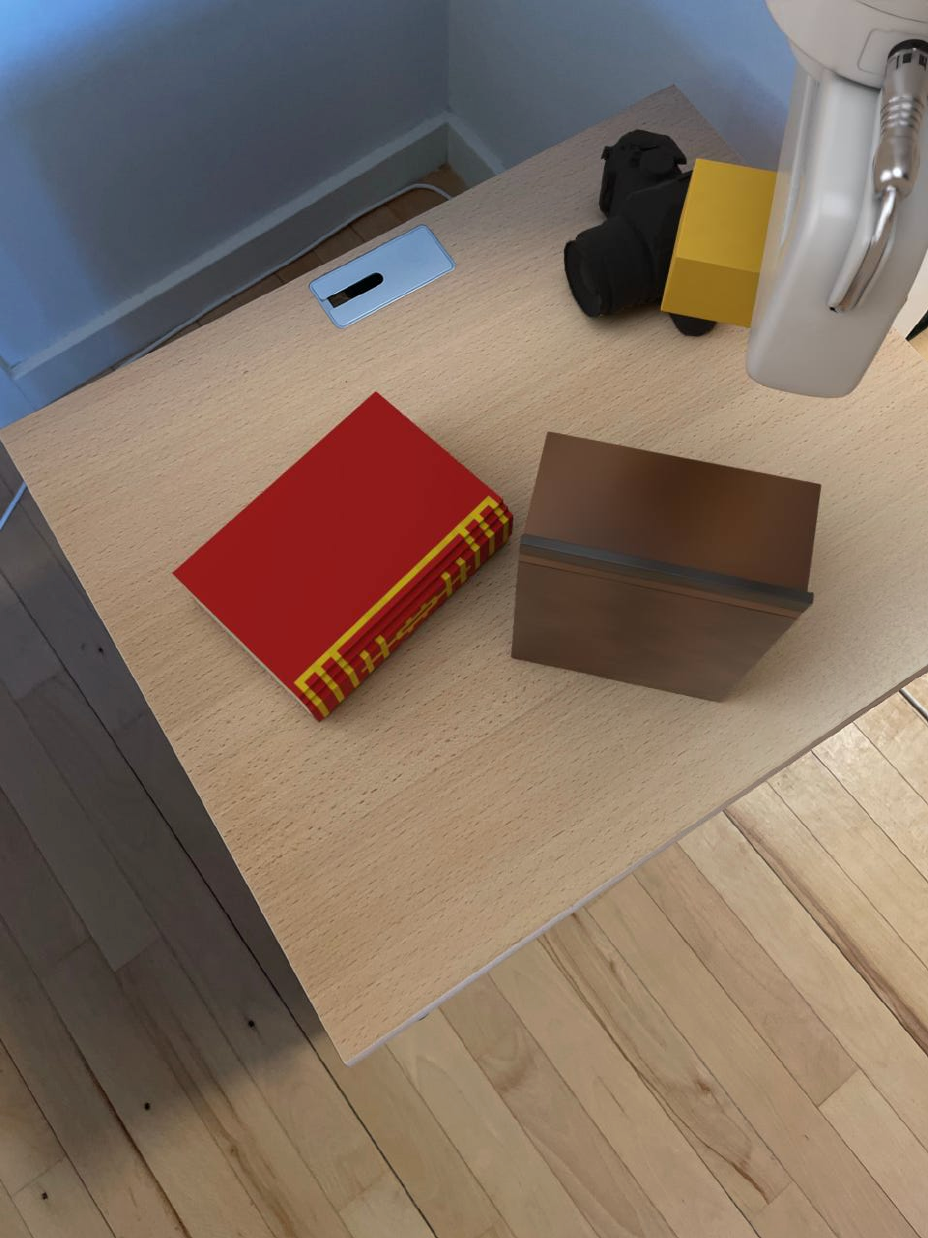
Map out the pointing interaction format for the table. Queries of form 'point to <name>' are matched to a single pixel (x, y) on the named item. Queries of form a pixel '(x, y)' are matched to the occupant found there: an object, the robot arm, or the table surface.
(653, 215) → the film camera
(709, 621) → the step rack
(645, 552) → the top shelf
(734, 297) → the yellow box
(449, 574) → the book
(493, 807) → the table surface
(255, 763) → the table surface
